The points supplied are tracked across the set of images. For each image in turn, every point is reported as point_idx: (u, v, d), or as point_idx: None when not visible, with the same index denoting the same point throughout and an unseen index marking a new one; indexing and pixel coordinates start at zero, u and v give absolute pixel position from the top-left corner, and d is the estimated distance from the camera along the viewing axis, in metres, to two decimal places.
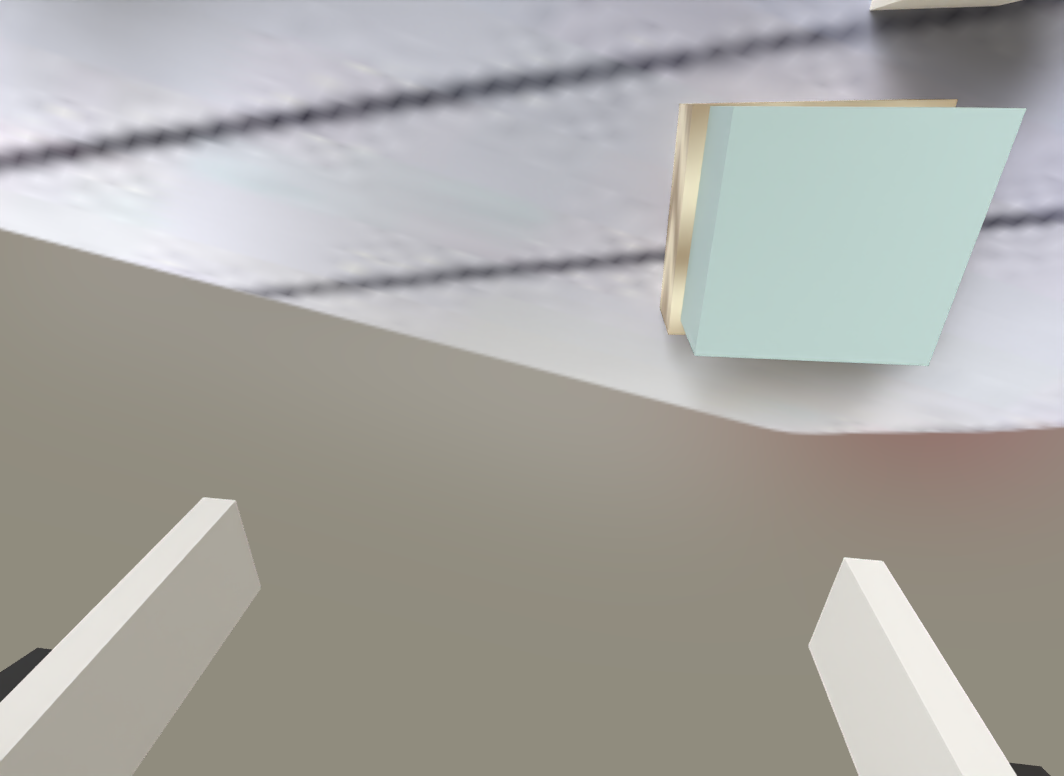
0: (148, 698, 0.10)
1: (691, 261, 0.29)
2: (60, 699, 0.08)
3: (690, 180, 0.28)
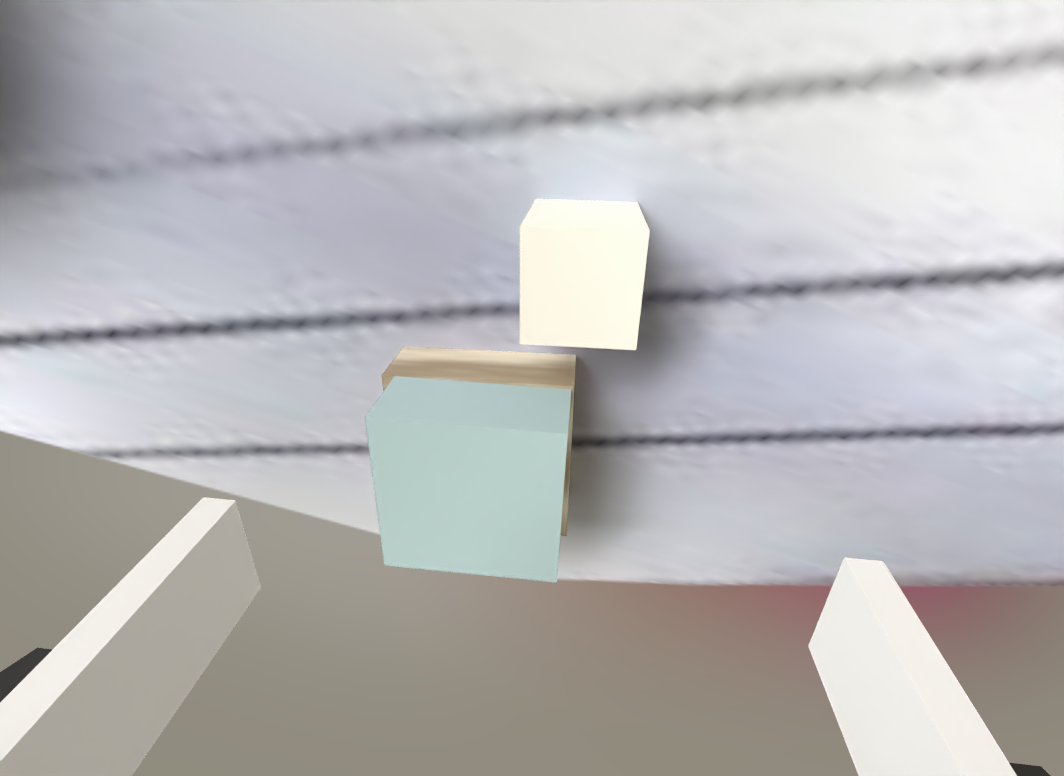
0: (148, 698, 0.10)
1: None
2: (60, 700, 0.08)
3: None
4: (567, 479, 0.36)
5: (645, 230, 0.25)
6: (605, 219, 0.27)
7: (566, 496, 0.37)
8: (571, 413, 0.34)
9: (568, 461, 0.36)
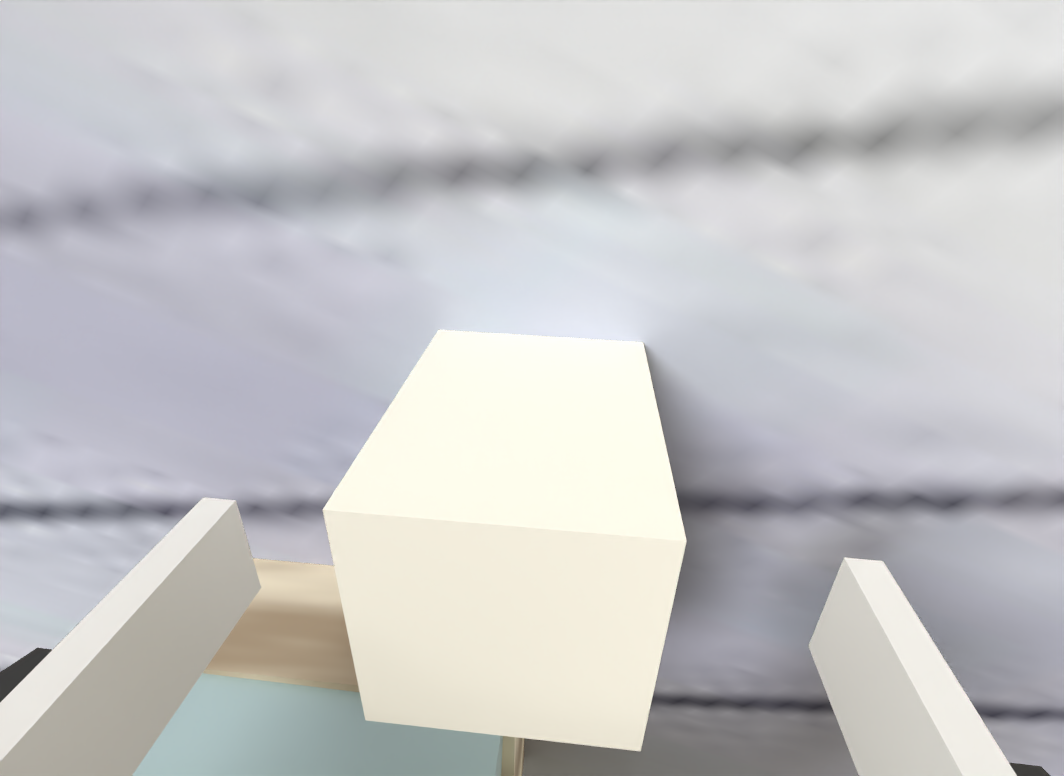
0: (149, 698, 0.10)
1: None
2: (60, 699, 0.08)
3: None
4: None
5: (673, 536, 0.09)
6: (567, 449, 0.11)
7: None
8: (512, 737, 0.18)
9: None
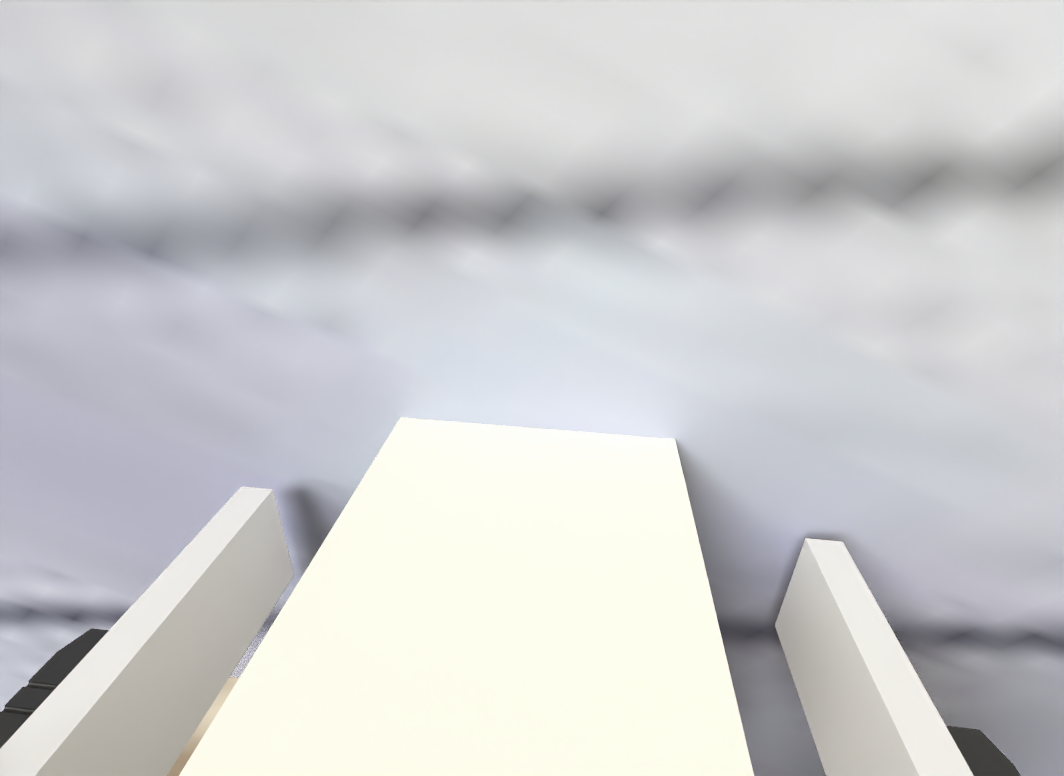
0: (197, 677, 0.10)
1: None
2: (121, 674, 0.08)
3: None
4: None
5: None
6: (572, 677, 0.07)
7: None
8: None
9: None
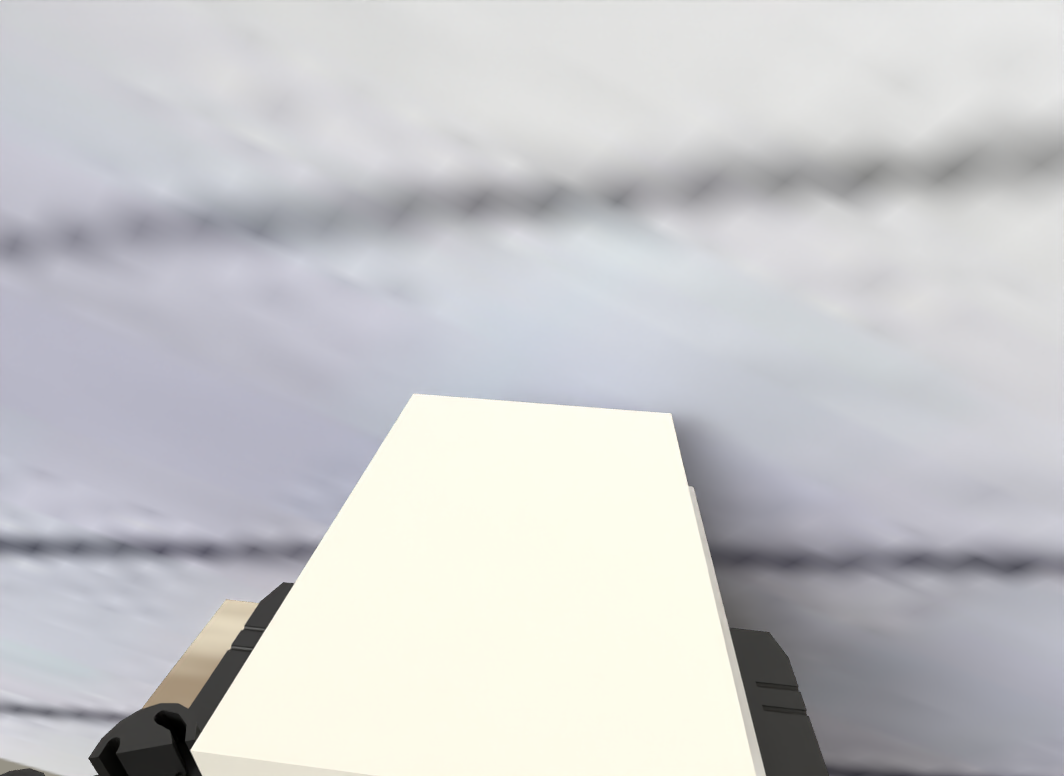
0: None
1: None
2: None
3: None
4: None
5: None
6: (575, 613, 0.07)
7: None
8: None
9: None
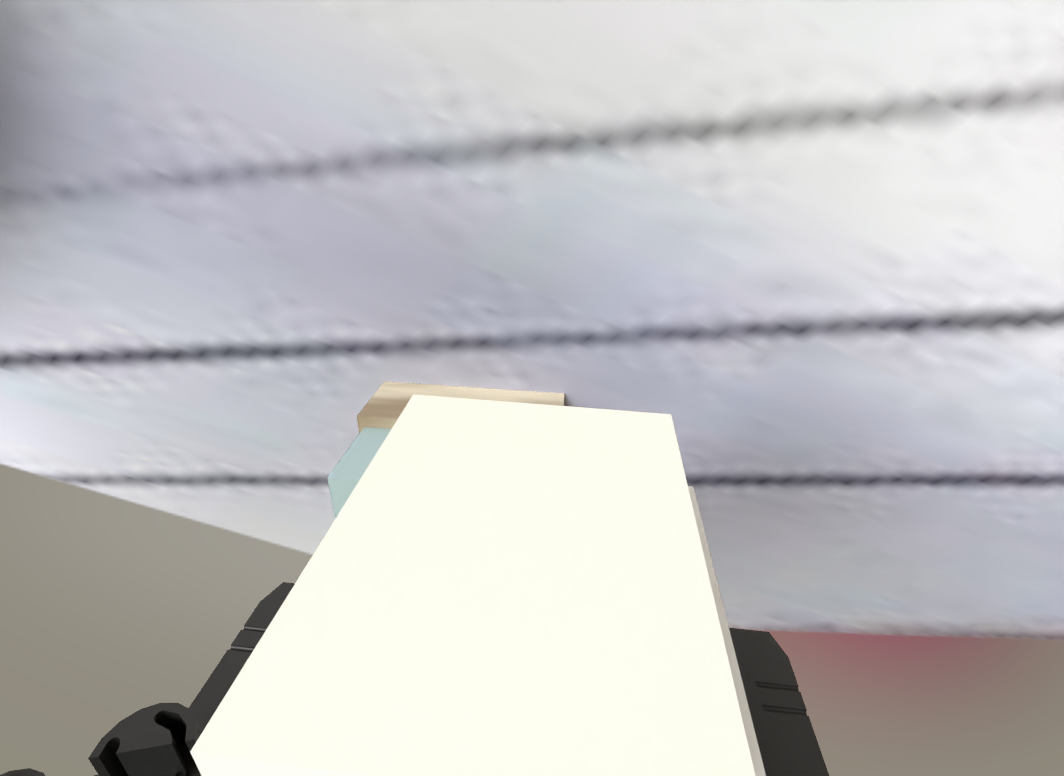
0: None
1: None
2: None
3: None
4: None
5: None
6: (574, 614, 0.07)
7: None
8: None
9: None
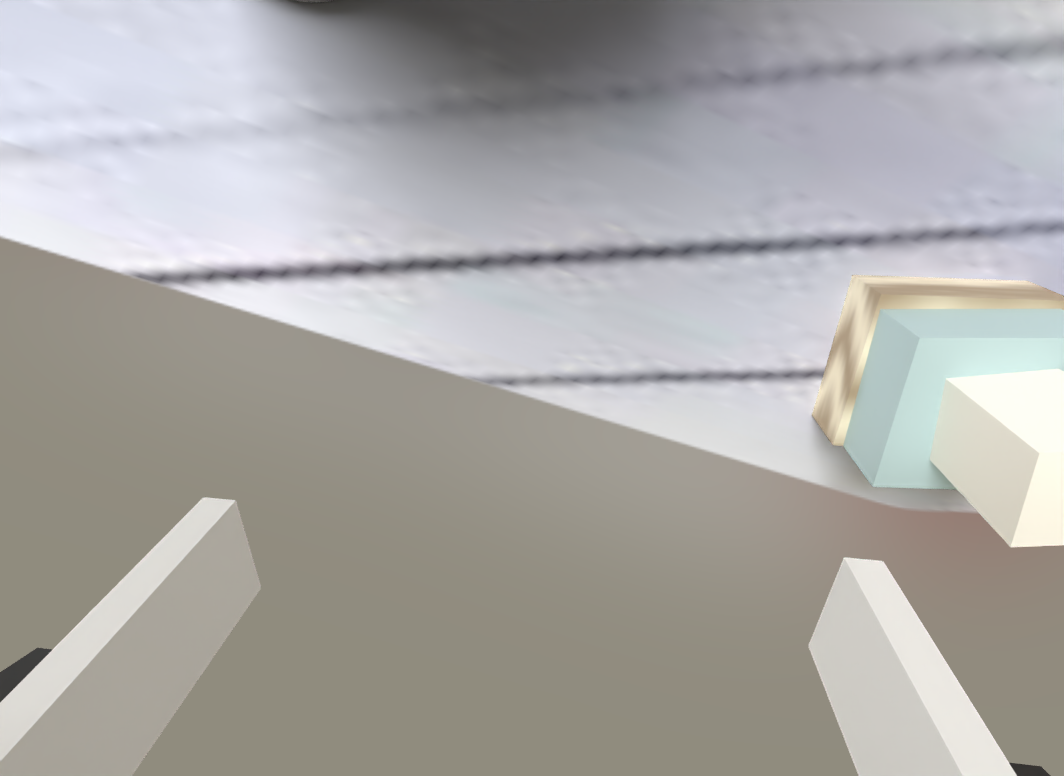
0: (148, 698, 0.10)
1: (859, 410, 0.39)
2: (60, 699, 0.08)
3: (870, 342, 0.38)
4: None
5: None
6: None
7: None
8: None
9: None
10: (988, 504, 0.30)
